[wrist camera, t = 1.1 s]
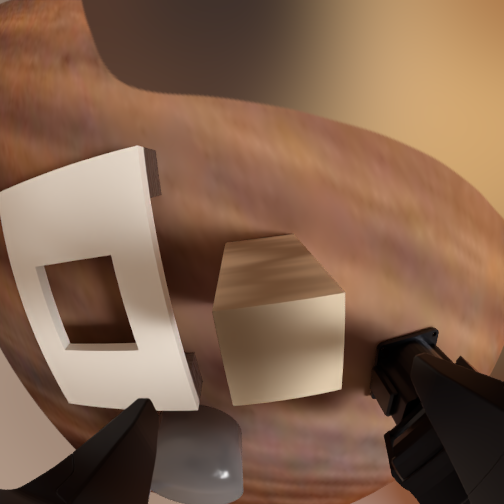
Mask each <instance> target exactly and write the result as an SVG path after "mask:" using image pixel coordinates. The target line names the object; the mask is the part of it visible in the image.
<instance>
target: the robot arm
mask: <svg viewBox="0 0 504 504" xmlns="http://www.w3.org/2000/svg"><path fill="white" fill-rule="evenodd" d="M438 333H439V331H438V330H437V329H436V328H431V329H428V330H425V331H421V332H418V333H415V334H411V335H408V336H404V337H401V338H397V339H393V340H390V341H386V342H382V343H380V344H379V345H378V346H377V351H376V359H375V366H374V367H373V370H372V377H371V383H370V389H371V393H370V395H371V397H372V398H373V399H377V401H378V403H379V405H380V407H381V408H382V410H383V412H384V414H385V415H386V416H392V418H393V419H394V421H395V423H396V426H395V427H394V428H393V429H392V430H390V431H388V432H387V433H386V434H384V439H385V444H386V449H387V453H388V459H389V464H390V469H391V474H392V476H393V477H394V478H395V480H396V481H397V482H398V483H399V484H400V485H401V486H402V487H403V488H405V489H406V490H409V491H410V492H411V493H412V494H413V495H414V497H415V498H416V499H417V500H418V502H419V503H420V504H504V381H503V382H502V381H501V380H498V379H495V378H492V377H490V376H487V375H484V374H481V373H479V372H478V371H477V370H476V369H475V368H474V367H473V366H472V365H470V364H469V363H468V362H467V361H466V360H465V359H464V358H462V357H461V356H460V357H459V358H458V359H457V360H456V363H455V364H454V363H453V362H452V361H451V360H450V359H449V358H448V357H447V356H446V355H445V354H444V353H443V352H442V351H441V350H440V349H439V348H438V347H437V346H436V343H437V338H438ZM383 347H384V348H383ZM382 348H383V349H382ZM381 349H382V350H381ZM158 426H159V416H158V413H157V411H156V409H155V407H154V405H153V403H152V401H151V400H150V399H149V398H138V399H137V400H135V401H134V402H133V403H132V404H131V405H130V406H128V407H127V408H126V409H125V410H124V411H123V412H121V413H120V414H119V415H118V416H117V417H115V418H114V419H113V420H112V421H111V422H110V423H108V424H107V425H106V426H105V427H104V428H102V429H101V430H100V431H99V432H98V433H96V434H95V435H94V436H93V437H91V438H90V439H89V440H88V441H87V442H85V443H84V444H83V445H82V446H80V447H79V448H78V449H77V450H75V451H74V452H73V454H71V455H69V456H68V457H67V458H65V459H64V460H63V461H61V462H60V463H59V464H57V465H56V466H55V467H53V468H52V469H50V470H49V471H47V472H46V473H44V474H42V475H41V476H39V477H37V478H36V479H34V480H32V481H31V482H29V483H27V484H25V485H24V486H22V487H20V488H17V489H12V490H2V489H0V504H148V499H149V494H150V489H151V483H152V477H153V472H154V466H155V461H156V454H157V439H158Z"/></svg>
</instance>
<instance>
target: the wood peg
mask: <svg viewBox="0 0 504 504" xmlns="http://www.w3.org/2000/svg"><path fill="white" fill-rule="evenodd" d="M212 313H213V318H214V323H215V328H216V332H217V337H218V342H219V346H220V351H221V356H222V360H223V365H224V369H225V373H226V378H227V382H228V386H229V391H230V395H231V399H232V403H233V406H239V405H250V404H259V403H267V402H274V401H281V400H288V399H294V398H300V397H306V396H311V395H317V394H322V393H327V392H331V391H336V390H340V389H341V388H342V374H343V357H344V334H345V292H344V291H343V290H342V288H341V287H340V286H339V285H338V284H337V283H336V281H335V280H334V279H333V278H332V277H331V276H330V275H329V273H328V272H327V271H326V270H325V269H324V268H323V267H322V265H321V264H320V263H319V262H318V261H317V260H316V259H315V257H314V256H313V255H312V254H311V253H310V252H309V251H308V250H307V249H306V247H305V246H304V245H303V244H302V243H301V242H300V241H299V240H298V239H297V237H296V236H295V235H294V234H289V235H281V236H273V237H266V238H258V239H250V240H242V241H234V242H227V243H226V244H225V248H224V253H223V258H222V263H221V268H220V273H219V279H218V284H217V289H216V294H215V299H214V304H213V310H212Z"/></svg>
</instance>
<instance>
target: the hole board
mask: <svg viewBox="0 0 504 504" xmlns="http://www.w3.org/2000/svg"><path fill="white" fill-rule="evenodd" d="M159 195H161V189H160V182H159V175H158V167H157V159H156V151H155V150H152V149H148V148H145V147H141V146H134V147H130V148H126V149H122V150H118V151H114V152H111V153H107V154H103V155H100V156H97V157H93V158H90V159H87V160H83V161H80V162H77V163H74V164H71V165H68V166H65V167H62V168H59V169H56V170H53V171H51V172H48V173H45V174H42V175H40V176H37V177H35V178H32V179H29V180H27V181H25V182H22V183H20V184H17V185H15V186H13V187H10V188H8V189H6V190H3V191H1V192H0V217H1V223H2V228H3V233H4V238H5V243H6V247H7V252H8V256H9V260H10V264H11V267H12V271H13V275H14V278H15V281H16V285H17V288H18V291H19V294H20V297H21V300H22V303H23V306H24V309H25V311H26V314H27V317H28V320H29V322H30V325H31V327H32V330H33V332H34V334H35V337H36V339H37V342H38V344H39V346H40V348H41V350H42V353H43V355H44V357H45V359H46V361H47V363H48V365H49V367H50V369H51V371H52V373H53V375H54V377H55V379H56V381H57V383H58V385H59V386H60V388H61V390H62V392H63V393H64V395H65V397H66V399H67V400H68V402H69V403H71V404H78V405H86V406H94V407H103V408H115V409H126V408H127V407H128V406H130V405H131V404H132V403H133V402H134V401H135V400H137V399H138V398H149V399H150V400H151V401H152V403H153V405H154V407H155V409H156V411H192V410H198V408H199V401H200V395H201V388H202V382H203V381H202V378H201V374H200V371H199V367H198V364H197V360H196V356H195V353H184V350H183V346H182V343H181V339H180V336H179V332H178V328H177V324H176V321H175V317H174V313H173V309H172V305H171V301H170V296H169V292H168V288H167V284H166V279H165V275H164V270H163V265H162V261H161V256H160V251H159V246H158V241H157V235H156V230H155V224H154V219H153V213H152V207H151V200H150V198H152V197H156V196H159ZM108 255H111V257H112V261H113V266H114V270H115V274H116V278H117V281H118V285H119V289H120V292H121V296H122V300H123V303H124V306H125V310H126V313H127V316H128V319H129V323H130V326H131V329H132V332H133V335H134V338H135V341H136V343H108V344H72V343H70V341H69V339H68V336H67V334H66V331H65V329H64V326H63V323H62V321H61V318H60V315H59V313H58V310H57V307H56V304H55V301H54V298H53V295H52V292H51V288H50V285H49V282H48V278H47V275H46V271H45V268H44V265H50V264H57V263H63V262H69V261H75V260H82V259H88V258H95V257H101V256H108Z"/></svg>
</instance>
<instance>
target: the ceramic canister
mask: <svg viewBox="0 0 504 504" xmlns="http://www.w3.org/2000/svg"><path fill="white" fill-rule="evenodd" d="M151 490H152V491H154V492H155V493H157V494H159V495H160V496H163V497H165V498H167V499H170V500H173V501H176V502H179V503H184V504H227V503H230V502H233V501H235V500H237V499H238V498H240V497H241V495H242V494H243V469H242V433H241V428H240V426H239V424H238V423H237V422H236V421H235V420H234V419H233V418H232V417H231V416H229V415H228V414H226V413H224V412H222V411H220V410H217V409H214V408H211V407H207V406H202V405H199V408H198V410H192V411H163V412H162V413H161V414H160V416H159V426H158V439H157V454H156V461H155V466H154V472H153V477H152V483H151Z"/></svg>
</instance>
